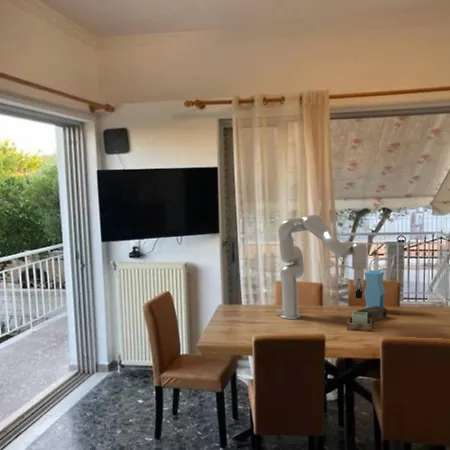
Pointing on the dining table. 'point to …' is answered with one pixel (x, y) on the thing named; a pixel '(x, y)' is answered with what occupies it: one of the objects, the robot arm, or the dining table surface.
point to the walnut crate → (359, 325)
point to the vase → (374, 289)
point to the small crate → (359, 317)
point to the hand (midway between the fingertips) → (359, 296)
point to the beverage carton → (375, 312)
